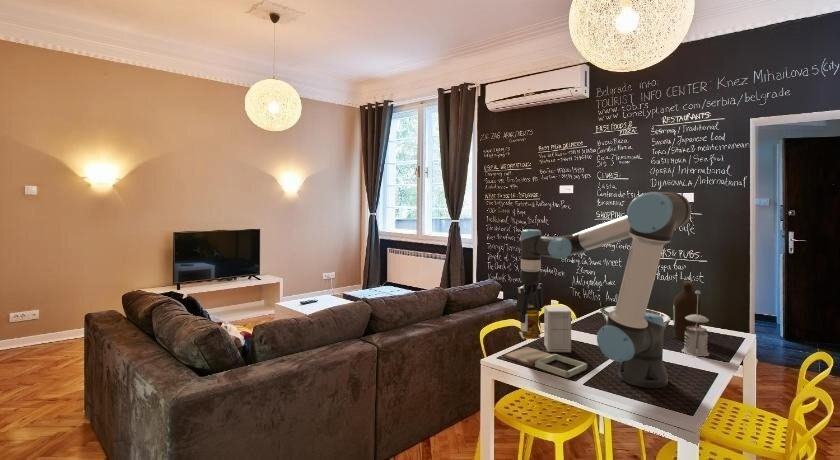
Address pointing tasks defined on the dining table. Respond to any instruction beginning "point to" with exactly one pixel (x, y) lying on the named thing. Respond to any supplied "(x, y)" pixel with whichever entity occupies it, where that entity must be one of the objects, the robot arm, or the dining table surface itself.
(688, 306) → the olive oil
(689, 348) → the french press
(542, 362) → the tray
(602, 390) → the dining table surface
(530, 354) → the board
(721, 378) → the dining table surface
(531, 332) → the condiment
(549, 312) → the supplement box
